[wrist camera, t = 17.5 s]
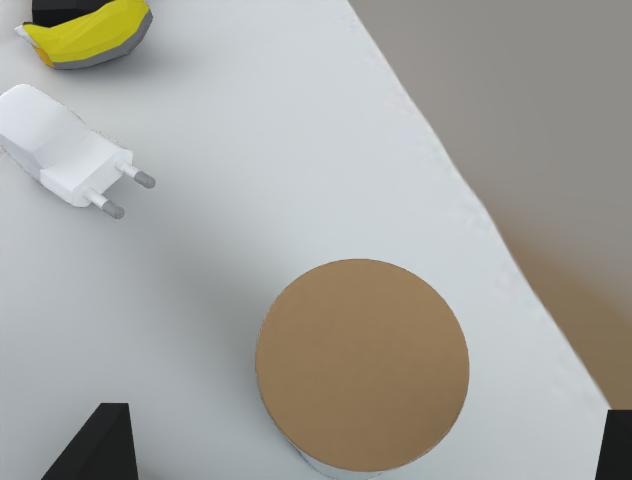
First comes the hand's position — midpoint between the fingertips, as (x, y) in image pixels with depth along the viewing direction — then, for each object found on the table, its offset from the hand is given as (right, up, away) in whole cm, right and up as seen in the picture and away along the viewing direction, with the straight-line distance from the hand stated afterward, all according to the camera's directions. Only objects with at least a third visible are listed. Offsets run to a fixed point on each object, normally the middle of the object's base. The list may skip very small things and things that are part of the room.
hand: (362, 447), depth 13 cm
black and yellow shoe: (-20, +24, +28) cm, 42 cm away
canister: (0, -3, +11) cm, 12 cm away
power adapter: (-16, +9, +19) cm, 27 cm away
